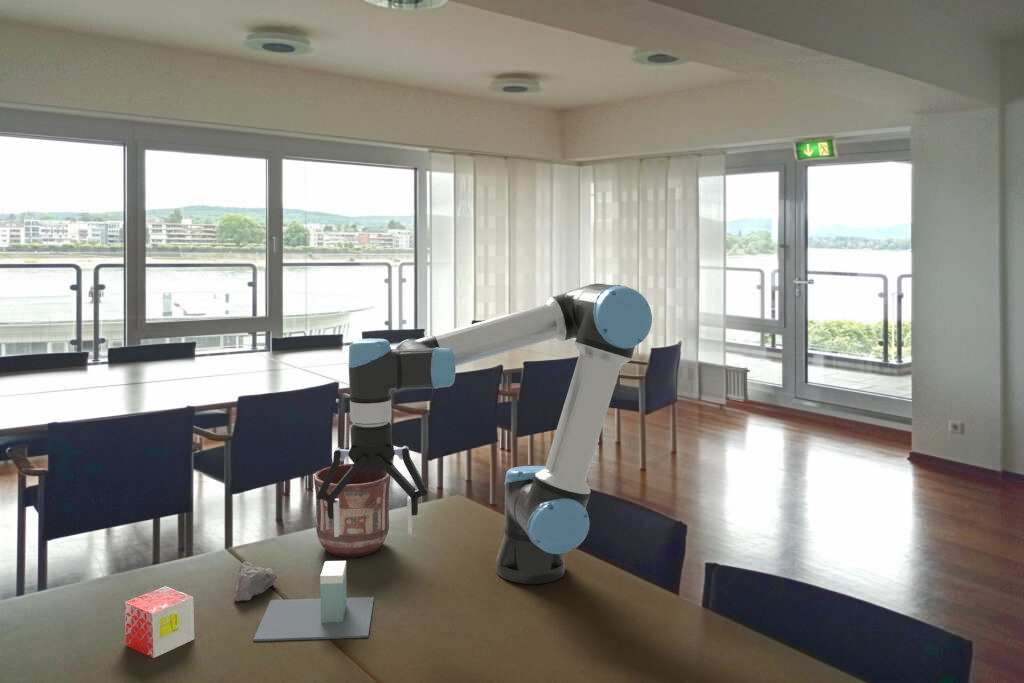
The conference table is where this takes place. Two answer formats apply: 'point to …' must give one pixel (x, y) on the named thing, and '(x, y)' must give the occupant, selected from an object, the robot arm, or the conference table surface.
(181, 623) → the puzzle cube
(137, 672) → the conference table surface
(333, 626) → the slate mat
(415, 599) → the conference table surface
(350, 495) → the pottery
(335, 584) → the painted block
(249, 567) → the stone
